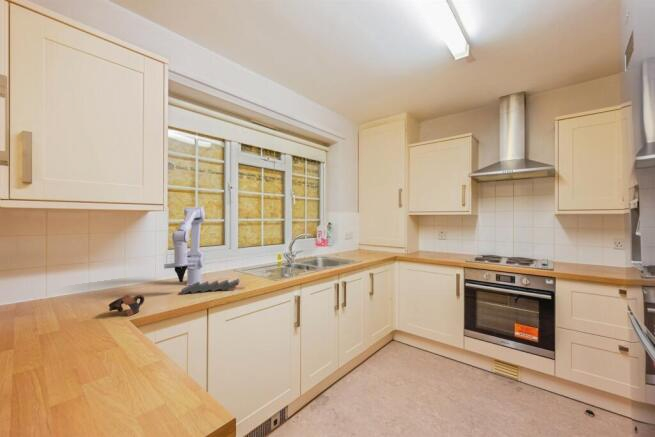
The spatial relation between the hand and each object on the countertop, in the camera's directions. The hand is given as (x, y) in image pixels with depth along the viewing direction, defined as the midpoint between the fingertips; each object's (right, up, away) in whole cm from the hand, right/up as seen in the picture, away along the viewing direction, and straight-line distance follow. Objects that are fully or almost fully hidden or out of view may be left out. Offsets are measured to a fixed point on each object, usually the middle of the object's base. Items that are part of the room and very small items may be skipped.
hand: (181, 281), depth 140 cm
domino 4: (+13, -5, +5) cm, 15 cm away
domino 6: (+21, -6, +8) cm, 23 cm away
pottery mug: (-7, -7, -27) cm, 29 cm away
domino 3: (+9, -5, +3) cm, 11 cm away
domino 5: (+18, -5, +7) cm, 20 cm away
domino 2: (+4, -5, +2) cm, 7 cm away
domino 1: (0, -5, 0) cm, 5 cm away
